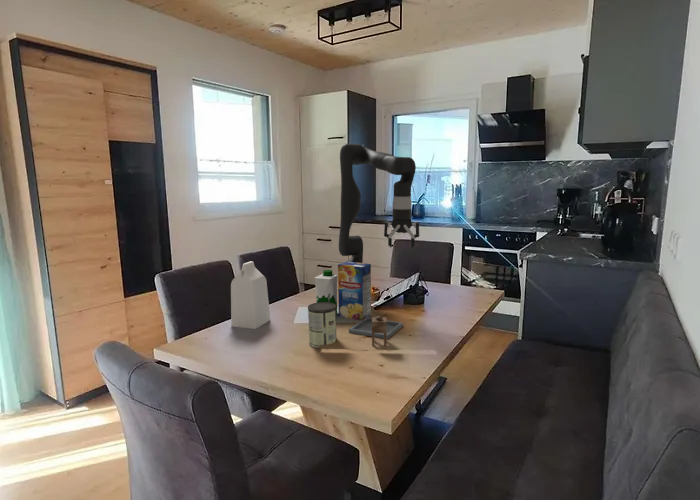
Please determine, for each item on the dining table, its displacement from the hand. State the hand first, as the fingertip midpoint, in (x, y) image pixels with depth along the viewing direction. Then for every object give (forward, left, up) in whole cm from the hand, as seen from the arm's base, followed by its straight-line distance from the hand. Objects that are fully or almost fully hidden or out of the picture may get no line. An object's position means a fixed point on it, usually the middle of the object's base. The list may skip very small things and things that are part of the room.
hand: (401, 247), depth 173 cm
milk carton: (-32, -7, -32) cm, 46 cm away
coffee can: (-17, -35, -32) cm, 50 cm away
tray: (-4, -16, -32) cm, 36 cm away
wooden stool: (+3, -29, -32) cm, 43 cm away
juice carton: (-19, -5, -32) cm, 38 cm away
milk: (-56, -29, -32) cm, 71 cm away
